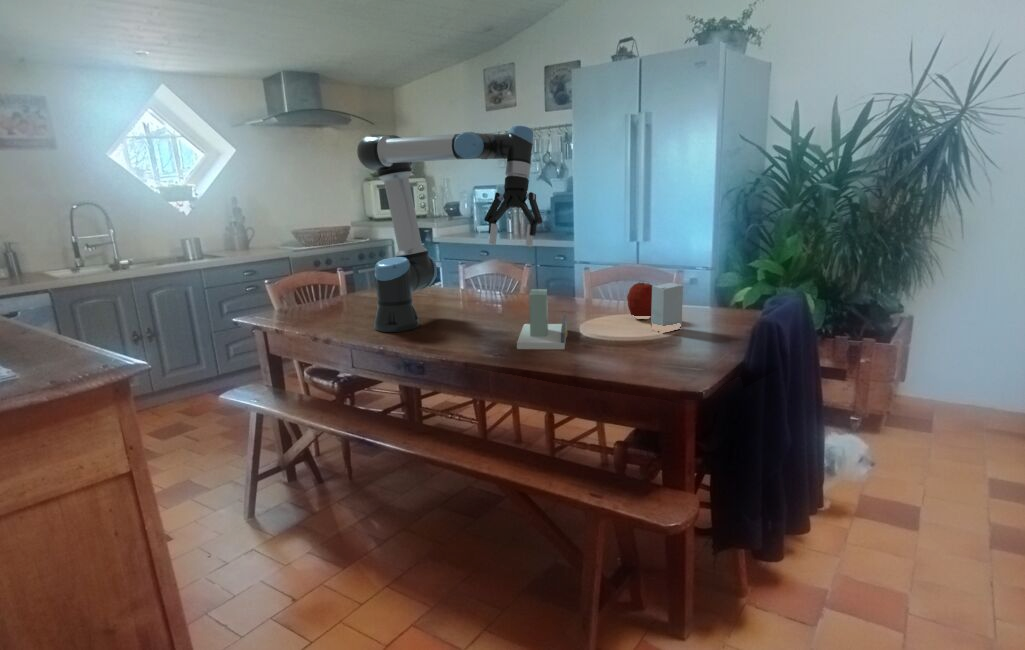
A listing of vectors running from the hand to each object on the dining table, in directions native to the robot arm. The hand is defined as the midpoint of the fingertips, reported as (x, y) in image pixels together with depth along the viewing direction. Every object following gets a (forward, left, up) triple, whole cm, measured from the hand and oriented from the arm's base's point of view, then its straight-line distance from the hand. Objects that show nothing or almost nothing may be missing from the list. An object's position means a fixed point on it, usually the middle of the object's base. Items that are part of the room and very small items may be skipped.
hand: (510, 245), depth 186 cm
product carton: (+12, 0, -26) cm, 29 cm away
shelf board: (+13, +1, -28) cm, 31 cm away
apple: (+22, +41, -29) cm, 54 cm away
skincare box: (+36, +34, -29) cm, 57 cm away
